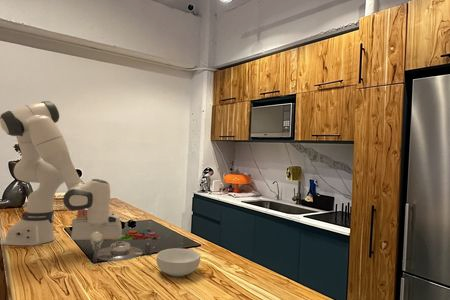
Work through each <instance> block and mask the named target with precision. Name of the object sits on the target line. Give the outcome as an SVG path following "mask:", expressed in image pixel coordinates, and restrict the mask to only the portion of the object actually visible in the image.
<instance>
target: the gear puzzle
mask: <svg viewBox="0 0 450 300" xmlns="http://www.w3.org/2000/svg"><path fill="white" fill-rule="evenodd" d="M154 239H156V240H158V239H161V236H160V234H159V233H156V232H155V231H153V230H152V229H151V227H148V228H146V229H143V230H139V231H138V230H129V231H127V232H126V233H125V234H122V237H121V238H120V239H104V240H103V242H104V241H106V242H108V241H129V240H131V241H132V240H135V241H137V240H154Z"/></svg>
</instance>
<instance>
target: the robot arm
mask: <svg viewBox="0 0 450 300" xmlns="http://www.w3.org/2000/svg"><path fill="white" fill-rule="evenodd" d="M59 120H60V113H59V110H58V107H57V106H56V104H54V102H51V101H49V100H46V101H41V102H35V103H30V104H29V103H28V104H25V105H23V106H21V107H17V108H14V109H12V110H7V111H5V112H3V113H1V114H0V127H1V129H2V130H3V131H4V132H5V133H6V134H7V135H9V136H11V137H15V138H16V140H17V143H18V146H19V149H20V154H21V158H20V160H18V162H16V164H15V165H14V168H13V175H14V177H15V178H16V180H18V181H21V182H25V183H34V184H36V183H38V184H39V186H38V189H36V190H33V191H32V192H30V193H29V195H28V197H27V204H26V210H25V211H23V213H22V214H21V216H20V217H21V218H22V219H21V220H19V221H17V222H16V223H15V224H13V225H12V226H11V227H9V228H8V230H7V232H6V236H5V237H3V238H2V239H0V245H3V246H32V247H33V246H37V245H41V244H46V243H49V242H52V241H54V240H56V236H55V232H54V231H55V230H54V220H55V212H54V202H55V201H54V200H55V196H56V192H57V191H58V189H59V187H60V186H61V185H62V184H65V186H66V188H67V191H66V192H65V193H64V195H63V198H62V203H63V205H64V207H65V208H67V210H69V211H78V210H82V209H88V211H87V217H81V218H79V217H77V216H76V217H75V218H73V219H72V220H71V227H72V229H71V234H70V236H71V237H70V238H71V239H72V240H73V241H79V240H80V241H85V240H90V236H91V234H92V233H93V232H96V231H97V232H100V233H101V234H102V241H101V242H99V244H97V251H98V250H100V249H101V245H102V244H103V242H104V241H103V240H104V239H120V238H121V237H122V235H123V229H122V223H121V220H120V217H121V216H120V215H119V214H117V213H114V212H110V201H111V186H110V184H109V182H108V181H106V180H103V179H98V178H97V179H96V178H95V179H93V178H92V179H91V180H89V181H87V182H83V181H82V179H81V178H80V175H79V173H78V172H77V170H76V168H75V165H74V164H73V161H72V159H71V156H70V153H69V149H68V146H67V143H66V140H65V139H64V137H63V134H62V133H61V130H60V129H59V128H58V126H57V124H56V123H57V122H59ZM90 244H91V246H92V250H93V251H94V243H92V242H91V240H90Z"/></svg>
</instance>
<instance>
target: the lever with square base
mask: <svg viewBox="0 0 450 300" xmlns="http://www.w3.org/2000/svg"><path fill="white" fill-rule="evenodd" d="M90 240H91V242H92V243H94V250H93V259H92V261H93V262H92V263H93V264H97V260H98V258H97V251H98V250H97V244H98V243H99V244H100V242H101V241H102V234H101V233H100V232H97V231H96V232H93V233H92V234H91V236H90ZM91 242H90V243H91Z"/></svg>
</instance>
